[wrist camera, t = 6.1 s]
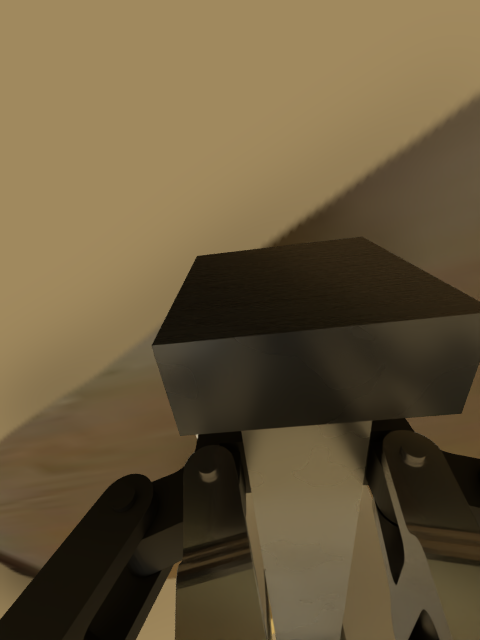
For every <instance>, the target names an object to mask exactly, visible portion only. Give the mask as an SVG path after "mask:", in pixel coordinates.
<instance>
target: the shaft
mask: <svg viewBox="0 0 480 640" xmlns="http://www.w3.org/2000/svg"><path fill="white" fill-rule="evenodd" d="M152 349H153V352H154V355H155V359H156V362H157V365H158V368H159V371H160V374H161V377H162V381H163V384H164V387H165V390H166V393H167V396H168V399H169V402H170V406H171V409H172V412H173V415H174V418H175V421H176V424H177V427H178V431H179V434H180V436H184V435H197V434H210V433H222V432H235V431H241V432H242V438H243V444H244V450H245V456H246V462H247V468H248V474H249V480H250V486H251V492H252V498H253V504H254V510H255V516H256V522H257V528H258V534H259V540H260V546H261V552H262V558H263V564H264V570H265V576H266V582H267V588H268V594H269V600H270V606H271V612H272V618H273V624H274V630H275V636H276V640H340V636H341V629H342V623H343V616H344V609H345V602H346V595H347V589H348V582H349V575H350V568H351V561H352V555H353V548H354V541H355V534H356V527H357V520H358V514H359V507H360V500H361V493H362V486H363V480H364V473H365V466H366V459H367V452H368V446H369V439H370V432H371V425H372V421H374V420H386V419H399V418H412V417H424V416H437V415H450V414H461V413H462V410H463V408H464V405H465V402H466V399H467V396H468V393H469V391H470V388H471V385H472V382H473V379H474V376H475V374H476V371H477V368H478V365H479V362H480V302H479V301H477V300H476V299H474V298H472V297H470V296H468V295H467V294H465V293H463V292H461V291H459V290H458V289H456V288H454V287H452V286H450V285H449V284H447V283H445V282H443V281H441V280H439V279H438V278H436V277H434V276H432V275H430V274H429V273H427V272H425V271H423V270H421V269H420V268H418V267H416V266H414V265H412V264H411V263H409V262H407V261H405V260H403V259H402V258H400V257H398V256H396V255H394V254H393V253H391V252H389V251H387V250H385V249H383V248H382V247H380V246H378V245H376V244H374V243H373V242H371V241H369V240H367V239H365V238H364V237H355V238H347V239H338V240H330V241H321V242H313V243H304V244H296V245H287V246H279V247H270V248H261V249H253V250H244V251H236V252H227V253H220V254H210V255H202V256H197V257H196V259H195V261H194V263H193V265H192V267H191V269H190V271H189V273H188V275H187V277H186V279H185V281H184V283H183V285H182V287H181V289H180V291H179V293H178V295H177V297H176V298H175V300H174V303H173V304H172V306H171V309H170V310H169V312H168V314H167V316H166V318H165V320H164V322H163V324H162V326H161V328H160V330H159V332H158V334H157V336H156V338H155V340H154V342H153V344H152Z"/></svg>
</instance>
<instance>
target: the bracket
mask: <svg viewBox="0 0 480 640" xmlns="http://www.w3.org/2000/svg"><path fill="white" fill-rule="evenodd" d="M196 437H197V439H198V434H197V435H196ZM372 501H373V500H372V497H371V495H370V492H369V490H368V487H367V485H363V486H362V493H361V500H360V507H359V514H358V520H357V527H356V534H355V541H354V548H353V555H352V561H351V568H350V575H349V582H348V589H347V595H346V602H345V609H344V616H343V623H342V629H341V636H340V640H395V636H394V631H393V624H392V617H391V599H390V589H389V583H388V578H387V574H386V569H385V565H384V560H383V555H382V551H381V546H380V541H379V537H378V532H377V527H376V523H375V518H374V513H373V508H372ZM246 522H247V527H248V533H249V538H250V544H251V549H252V555H253V560H254V566H255V571H256V577H257V582H258V588H259V593H260V598H261V604H262V609H263V614H264V620H265V625H266V630H267V636H268V640H272V627H271V611H270V600H269V594H268V588H267V582H266V576H265V570H264V564H263V558H262V552H261V546H260V540H259V534H258V528H257V522H256V516H255V510H254V504H253V498H252V493H246Z"/></svg>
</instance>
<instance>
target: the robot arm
mask: <svg viewBox="0 0 480 640" xmlns="http://www.w3.org/2000/svg"><path fill="white" fill-rule="evenodd" d="M363 485H369V487H370V489H371V492H372V494H373V501H372V508H373V513H374V518H375V523H376V527H377V532H378V537H379V541H380V546H381V551H382V555H383V560H384V565H385V569H386V574H387V578H388V583H389V589H390V599H391V617H392V624H393V631H394V636H395V640H480V459H477V458H472V457H467V456H462V455H457V454H452V453H448V452H445V451H442V450H440V448H439V447H438V446H437V445H436V444H435V443H434V442H432V441H431V440H430V439H428V438H427V437H425V436H423V435H421V434H419V433H416V432H414V430H413V429H412V428H411V426H410V425H409V423H408V422H407V420H406V419H405V418H399V419H386V420H374V421H372V425H371V432H370V439H369V446H368V452H367V459H366V466H365V473H364V480H363ZM246 493H252V492H251V486H250V480H249V474H248V468H247V462H246V456H245V450H244V444H243V438H242V432H241V431H235V432H222V433H210V434H198V439H197V445H196V449H195V452H194V453H193V454H192V455H191V456H190V457H189V458H188V460H187V462H186V464H185V466H184V467H183V468H182V469H180V470H179V471H177V472H175V473H173V474H171V475H168V476H166V477H163V478H161V479H158V480H156V481H153V482H151V481H150V479H149V478H147V477H146V476H144V475H141V474H130V475H127V476H124V477H122V478H120V479H118V480H117V481H115V482H114V483H113V484H111V485H110V486H109V487H108V488H107V489H106V491H105V492H104V493H103V494H102V495H101V497H100V498H99V499H98V500H97V502H96V503H95V504H94V505H93V506H92V508H91V509H90V510H89V511H88V513H87V514H86V515H85V516H84V517H83V519H82V520H81V521H80V522H79V524H78V525H77V526H76V527H75V528H74V530H73V531H72V532H71V533H70V535H69V536H68V537H67V538H66V540H65V541H64V542H63V543H62V544H61V546H60V547H59V548H58V549H57V551H56V552H55V553H54V554H53V555H52V557H51V558H50V559H49V560H48V562H47V563H46V564H45V565H44V566H43V568H42V569H41V570H40V571H39V573H38V574H37V575H36V576H35V578H34V579H33V580H32V582H30V584H29V585H28V586H27V587H26V589H25V590H24V591H23V592H22V594H21V595H20V596H19V597H18V599H17V600H16V601H15V602H14V603H13V605H12V606H11V607H10V608H9V609H8V611H7V612H6V613H5V614H4V616H3V617H2V618H1V619H0V640H136V638H137V636H138V634H139V632H140V630H141V628H142V626H143V624H144V622H145V620H146V618H147V616H148V614H149V612H150V610H151V608H152V606H153V604H154V602H155V600H156V598H157V596H158V594H159V592H160V590H161V589H162V587H163V585H164V582H165V581H166V579H167V577H168V575H169V573H170V571H171V569H172V567H173V565H174V564H175V563H177V562H179V561H181V560H182V562H181V563H180V564H179V566H178V570H177V578H176V610H175V611H176V612H175V613H176V614H175V640H268V636H267V630H266V625H265V620H264V614H263V609H262V604H261V598H260V593H259V588H258V582H257V577H256V571H255V566H254V560H253V555H252V549H251V544H250V538H249V533H248V527H247V522H246Z"/></svg>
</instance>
